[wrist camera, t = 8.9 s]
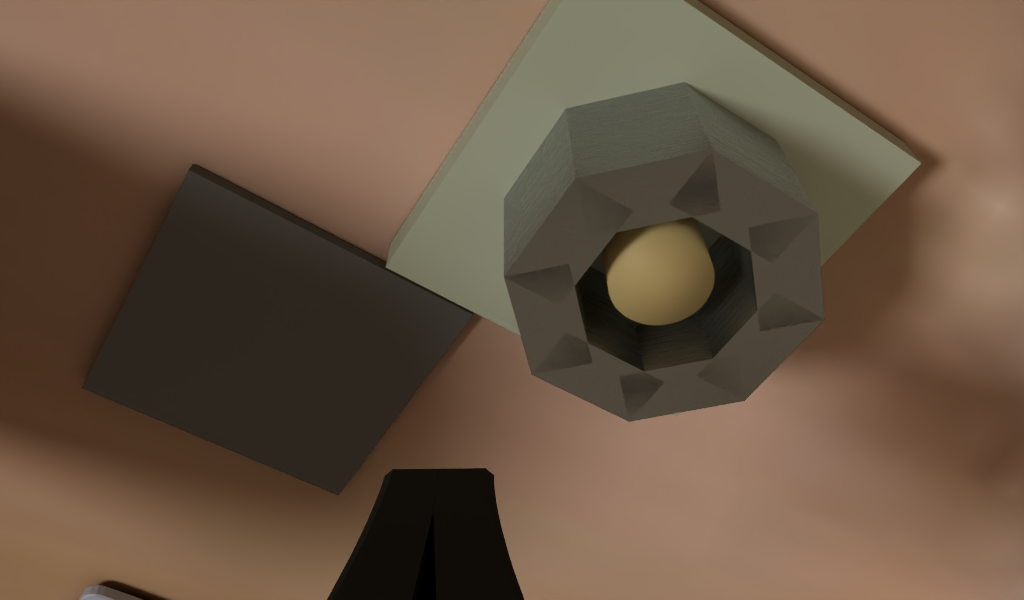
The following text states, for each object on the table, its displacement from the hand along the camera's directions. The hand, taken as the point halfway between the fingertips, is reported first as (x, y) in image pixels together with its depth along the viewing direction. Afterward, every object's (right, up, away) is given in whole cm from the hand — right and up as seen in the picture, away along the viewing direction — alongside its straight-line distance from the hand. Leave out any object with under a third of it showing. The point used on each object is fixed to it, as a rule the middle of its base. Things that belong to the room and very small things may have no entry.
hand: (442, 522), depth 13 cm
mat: (-5, +2, +10) cm, 11 cm away
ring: (+4, +5, +7) cm, 9 cm away
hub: (+4, +5, +8) cm, 10 cm away
